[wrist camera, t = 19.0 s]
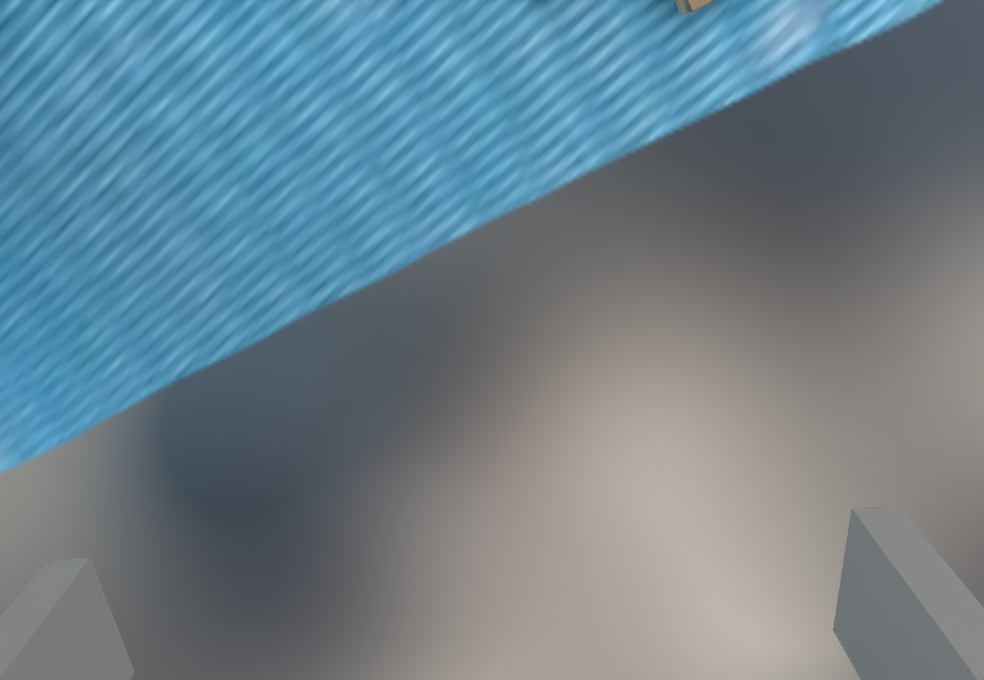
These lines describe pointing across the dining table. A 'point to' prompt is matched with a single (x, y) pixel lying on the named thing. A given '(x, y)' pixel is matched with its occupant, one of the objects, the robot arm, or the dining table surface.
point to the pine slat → (690, 5)
